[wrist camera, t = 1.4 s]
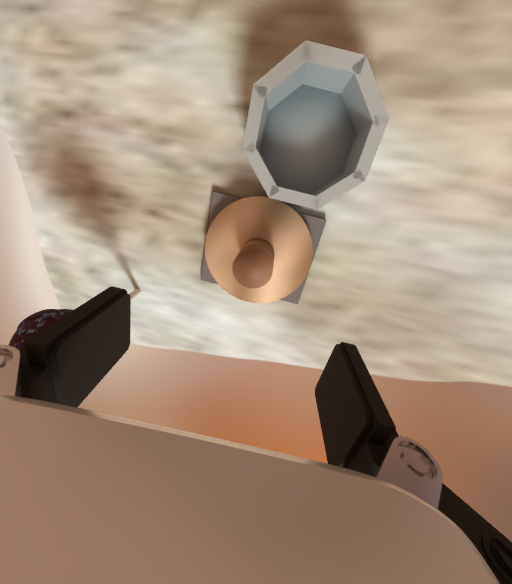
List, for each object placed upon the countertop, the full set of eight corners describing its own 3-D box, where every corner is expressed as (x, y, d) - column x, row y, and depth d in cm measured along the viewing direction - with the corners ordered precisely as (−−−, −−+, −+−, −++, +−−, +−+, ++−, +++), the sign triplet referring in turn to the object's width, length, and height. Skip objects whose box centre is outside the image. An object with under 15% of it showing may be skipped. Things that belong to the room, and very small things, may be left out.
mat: (325, 219, 25) (326, 220, 25) (297, 301, 29) (297, 304, 29) (214, 191, 25) (212, 191, 25) (202, 277, 29) (200, 279, 29)
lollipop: (138, 322, 33) (36, 418, 19) (101, 282, 31) (-40, 359, 17) (174, 299, 31) (89, 390, 17) (138, 255, 29) (9, 319, 15)
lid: (327, 211, 24) (340, 219, 19) (294, 309, 29) (296, 338, 24) (215, 183, 24) (196, 183, 19) (201, 286, 29) (182, 309, 24)
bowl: (381, 92, 20) (409, 65, 16) (338, 211, 25) (350, 218, 20) (267, 63, 20) (262, 29, 16) (243, 188, 25) (235, 189, 20)
